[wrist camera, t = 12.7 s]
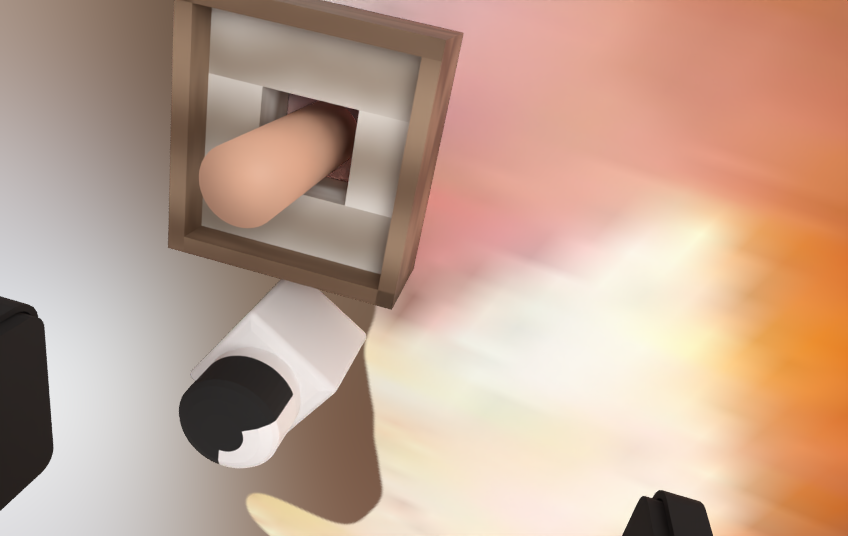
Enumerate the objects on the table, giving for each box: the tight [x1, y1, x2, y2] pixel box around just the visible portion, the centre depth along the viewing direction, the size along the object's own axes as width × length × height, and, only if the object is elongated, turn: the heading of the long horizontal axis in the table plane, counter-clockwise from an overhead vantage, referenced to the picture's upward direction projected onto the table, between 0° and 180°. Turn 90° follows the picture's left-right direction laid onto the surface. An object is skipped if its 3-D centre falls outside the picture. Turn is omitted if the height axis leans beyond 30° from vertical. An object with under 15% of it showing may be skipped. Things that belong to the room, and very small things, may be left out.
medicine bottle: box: [179, 279, 366, 468], centre depth 40 cm, size 7×7×12 cm
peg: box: [199, 101, 357, 228], centre depth 34 cm, size 4×4×12 cm
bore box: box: [168, 0, 463, 310], centre depth 37 cm, size 15×14×6 cm
